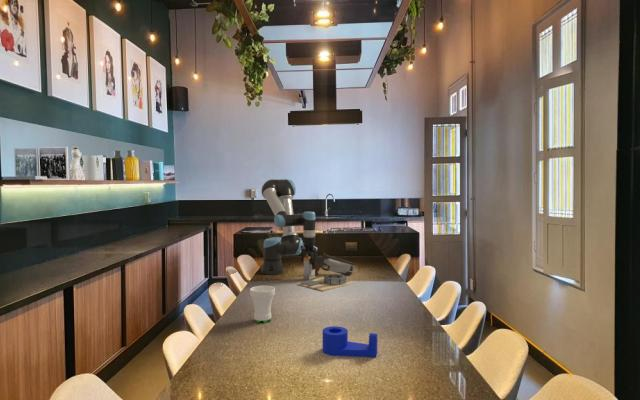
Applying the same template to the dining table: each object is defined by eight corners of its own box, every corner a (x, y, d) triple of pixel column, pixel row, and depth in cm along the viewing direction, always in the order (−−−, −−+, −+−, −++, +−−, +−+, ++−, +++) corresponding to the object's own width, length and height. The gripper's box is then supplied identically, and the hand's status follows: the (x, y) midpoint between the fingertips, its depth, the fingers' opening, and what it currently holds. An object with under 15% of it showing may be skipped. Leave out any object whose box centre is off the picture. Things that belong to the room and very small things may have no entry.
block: (303, 279, 266) (303, 257, 266) (309, 278, 270) (309, 256, 269) (309, 281, 263) (309, 258, 262) (315, 279, 266) (315, 257, 266)
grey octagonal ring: (319, 282, 256) (319, 276, 256) (334, 278, 266) (334, 273, 265) (335, 286, 247) (335, 280, 247) (350, 282, 256) (350, 276, 256)
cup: (254, 326, 181) (254, 293, 181) (246, 318, 191) (246, 287, 190) (279, 322, 186) (279, 289, 186) (270, 315, 196) (270, 284, 196)
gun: (348, 285, 278) (355, 263, 277) (308, 273, 278) (314, 251, 277) (348, 283, 283) (355, 261, 282) (308, 271, 283) (315, 250, 282)
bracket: (319, 355, 152) (319, 333, 151) (325, 345, 161) (325, 325, 160) (375, 360, 147) (375, 338, 147) (378, 350, 156) (378, 329, 156)
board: (296, 284, 254) (296, 283, 254) (327, 277, 272) (327, 276, 272) (323, 291, 238) (323, 290, 238) (353, 283, 256) (353, 282, 256)
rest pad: (300, 283, 254) (300, 282, 254) (311, 280, 260) (311, 280, 260) (310, 286, 247) (310, 285, 247) (321, 283, 254) (321, 282, 254)
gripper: (295, 235, 269) (295, 272, 270) (315, 238, 256) (315, 277, 257) (303, 234, 274) (304, 270, 275) (323, 237, 261) (323, 275, 262)
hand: (309, 273), depth 266 cm, fingers closed on block, 5 cm apart
